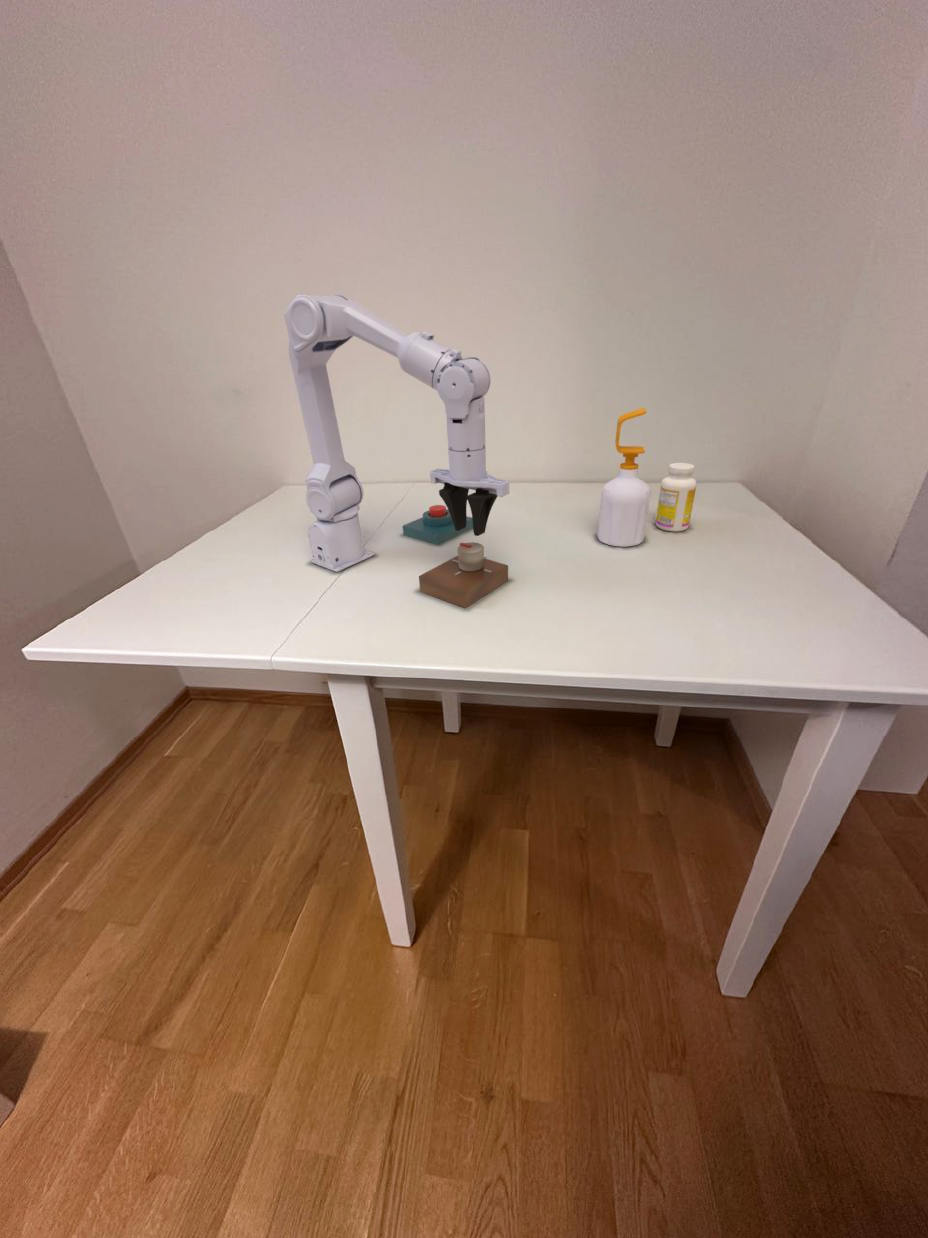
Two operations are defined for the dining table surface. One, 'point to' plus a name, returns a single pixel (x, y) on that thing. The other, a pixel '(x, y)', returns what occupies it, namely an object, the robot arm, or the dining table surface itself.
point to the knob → (470, 556)
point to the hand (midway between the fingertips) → (470, 531)
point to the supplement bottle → (676, 498)
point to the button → (437, 511)
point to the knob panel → (463, 581)
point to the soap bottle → (624, 498)
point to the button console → (434, 528)
